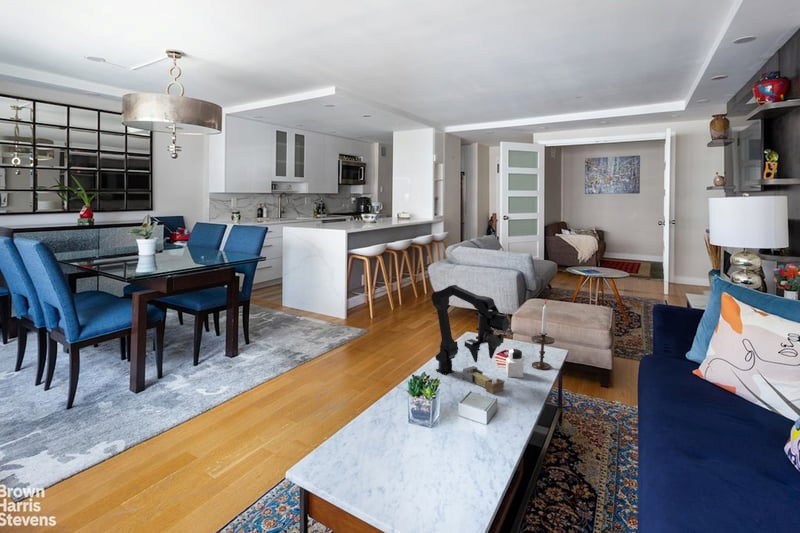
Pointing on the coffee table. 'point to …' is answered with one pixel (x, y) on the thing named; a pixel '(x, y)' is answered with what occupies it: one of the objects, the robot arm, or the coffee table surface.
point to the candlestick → (542, 343)
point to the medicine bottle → (514, 364)
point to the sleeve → (468, 375)
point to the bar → (480, 378)
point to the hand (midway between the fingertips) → (483, 360)
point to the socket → (495, 386)
